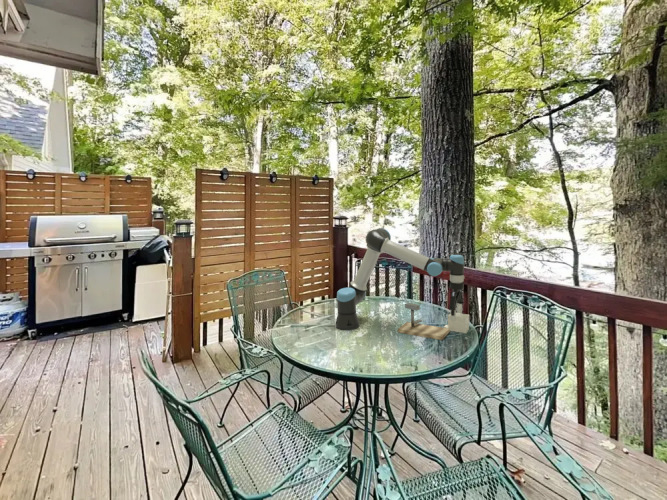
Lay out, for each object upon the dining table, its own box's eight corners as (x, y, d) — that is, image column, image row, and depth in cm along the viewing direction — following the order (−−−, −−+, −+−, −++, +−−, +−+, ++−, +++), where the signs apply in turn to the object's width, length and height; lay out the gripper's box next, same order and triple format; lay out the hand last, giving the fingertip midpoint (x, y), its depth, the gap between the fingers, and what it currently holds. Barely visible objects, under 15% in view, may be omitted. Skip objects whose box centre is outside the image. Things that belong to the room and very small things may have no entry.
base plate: (397, 332, 198) (397, 328, 198) (407, 325, 210) (406, 321, 210) (442, 340, 184) (442, 336, 183) (449, 332, 195) (449, 328, 195)
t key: (416, 328, 196) (416, 306, 194) (405, 325, 202) (404, 303, 200) (426, 324, 202) (426, 302, 201) (415, 321, 208) (414, 300, 207)
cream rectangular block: (443, 329, 199) (442, 314, 198) (446, 325, 205) (446, 311, 204) (465, 333, 192) (465, 317, 191) (468, 329, 198) (468, 314, 197)
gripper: (457, 286, 182) (457, 324, 185) (468, 278, 203) (468, 312, 205) (443, 285, 187) (443, 322, 189) (455, 277, 207) (455, 310, 209)
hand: (456, 317), depth 197 cm, fingers open, 13 cm apart
